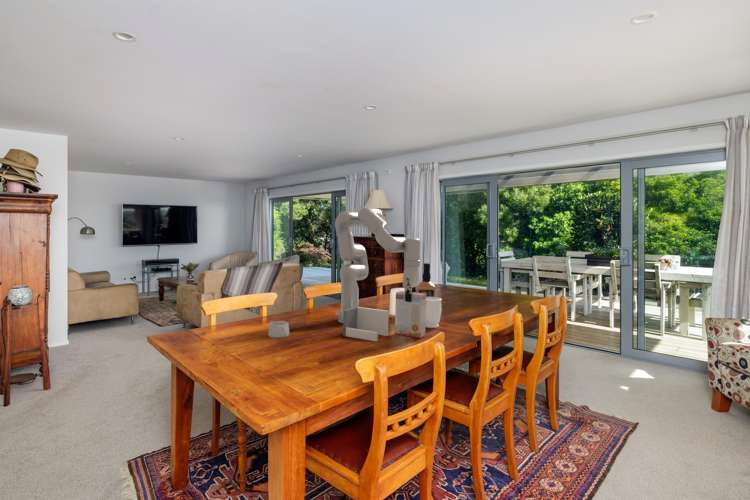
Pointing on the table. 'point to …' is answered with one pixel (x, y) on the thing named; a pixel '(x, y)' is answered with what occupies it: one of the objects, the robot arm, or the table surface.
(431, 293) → the whiskey bottle
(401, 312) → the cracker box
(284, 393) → the table surface
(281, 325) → the grey rounded block
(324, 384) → the table surface
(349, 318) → the shelf nook
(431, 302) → the jar
